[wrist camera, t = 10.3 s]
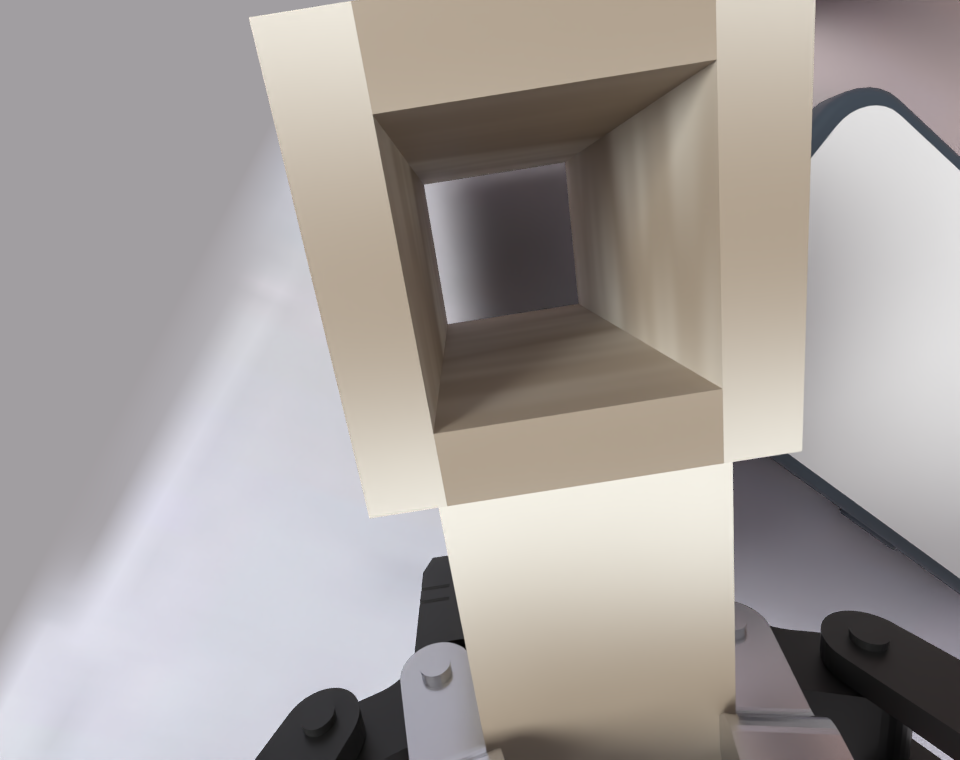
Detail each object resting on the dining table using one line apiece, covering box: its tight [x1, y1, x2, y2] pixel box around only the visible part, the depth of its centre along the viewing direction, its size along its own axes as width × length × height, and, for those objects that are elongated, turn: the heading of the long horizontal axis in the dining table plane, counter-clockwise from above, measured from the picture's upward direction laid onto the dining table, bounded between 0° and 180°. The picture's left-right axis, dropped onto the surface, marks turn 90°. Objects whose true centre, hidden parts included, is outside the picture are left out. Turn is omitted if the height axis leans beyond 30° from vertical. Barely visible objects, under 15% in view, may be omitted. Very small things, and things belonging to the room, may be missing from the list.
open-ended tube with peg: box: [249, 0, 816, 760], centre depth 9 cm, size 12×5×7 cm, turn 9°
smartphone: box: [769, 87, 960, 594], centre depth 15 cm, size 9×2×16 cm
